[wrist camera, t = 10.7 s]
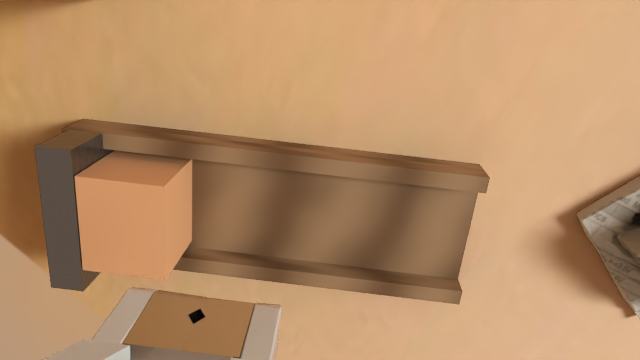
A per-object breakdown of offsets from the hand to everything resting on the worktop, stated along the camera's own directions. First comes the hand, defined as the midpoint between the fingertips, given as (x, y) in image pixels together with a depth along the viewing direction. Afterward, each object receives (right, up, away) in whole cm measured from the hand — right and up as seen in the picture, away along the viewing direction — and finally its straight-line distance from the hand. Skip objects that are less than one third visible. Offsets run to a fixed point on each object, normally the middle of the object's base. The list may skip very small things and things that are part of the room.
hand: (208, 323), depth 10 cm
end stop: (-12, +2, +23) cm, 26 cm away
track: (-1, +1, +23) cm, 23 cm away
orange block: (-9, +2, +24) cm, 25 cm away
